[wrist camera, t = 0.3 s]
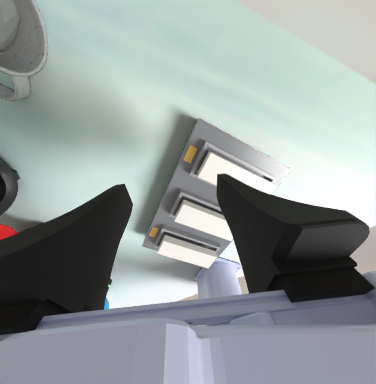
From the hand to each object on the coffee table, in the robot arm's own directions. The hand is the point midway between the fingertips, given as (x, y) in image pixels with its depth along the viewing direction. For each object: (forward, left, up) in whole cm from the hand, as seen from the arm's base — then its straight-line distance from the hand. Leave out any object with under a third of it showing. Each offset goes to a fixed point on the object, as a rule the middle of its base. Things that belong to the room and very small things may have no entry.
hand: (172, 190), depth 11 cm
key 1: (+2, -7, -6) cm, 10 cm away
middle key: (-5, -7, -6) cm, 11 cm away
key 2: (-12, -7, -6) cm, 15 cm away
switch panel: (-5, -7, -10) cm, 14 cm away
